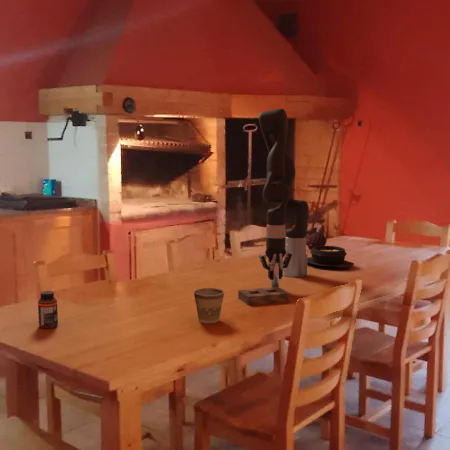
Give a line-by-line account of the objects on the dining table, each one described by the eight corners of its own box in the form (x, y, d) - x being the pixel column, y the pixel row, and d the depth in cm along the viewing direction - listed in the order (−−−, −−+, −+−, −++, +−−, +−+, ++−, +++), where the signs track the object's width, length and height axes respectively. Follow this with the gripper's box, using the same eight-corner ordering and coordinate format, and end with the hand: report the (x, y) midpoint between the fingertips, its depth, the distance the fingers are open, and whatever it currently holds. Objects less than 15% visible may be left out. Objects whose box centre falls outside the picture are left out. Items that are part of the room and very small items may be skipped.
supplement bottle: (40, 323, 207) (39, 289, 205) (59, 323, 208) (58, 289, 206) (37, 329, 201) (35, 294, 200) (56, 329, 202) (55, 294, 200)
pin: (277, 285, 251) (277, 260, 249) (280, 287, 248) (280, 262, 247) (270, 286, 250) (270, 261, 248) (273, 288, 247) (273, 263, 246)
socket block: (276, 295, 244) (277, 286, 244) (288, 302, 235) (288, 293, 235) (238, 299, 239) (238, 290, 238) (248, 306, 230) (248, 296, 229)
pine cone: (318, 247, 346) (319, 229, 344) (334, 249, 339) (334, 231, 338) (299, 251, 333) (299, 232, 331) (314, 254, 326) (315, 235, 325)
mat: (279, 288, 256) (279, 287, 256) (290, 294, 246) (290, 293, 246) (257, 290, 252) (257, 289, 252) (267, 296, 243) (267, 295, 243)
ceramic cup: (213, 327, 205) (213, 297, 204) (187, 321, 210) (187, 292, 209) (233, 317, 216) (234, 288, 214) (209, 312, 221) (209, 284, 220)
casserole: (294, 265, 300) (295, 247, 299) (315, 259, 314) (316, 242, 313) (341, 273, 284) (342, 254, 283) (361, 266, 298) (362, 249, 297)
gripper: (287, 233, 252) (287, 275, 255) (255, 235, 247) (255, 278, 250) (296, 236, 245) (295, 279, 248) (263, 238, 240) (262, 283, 243)
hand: (275, 279), depth 249 cm, fingers closed on pin, 3 cm apart
